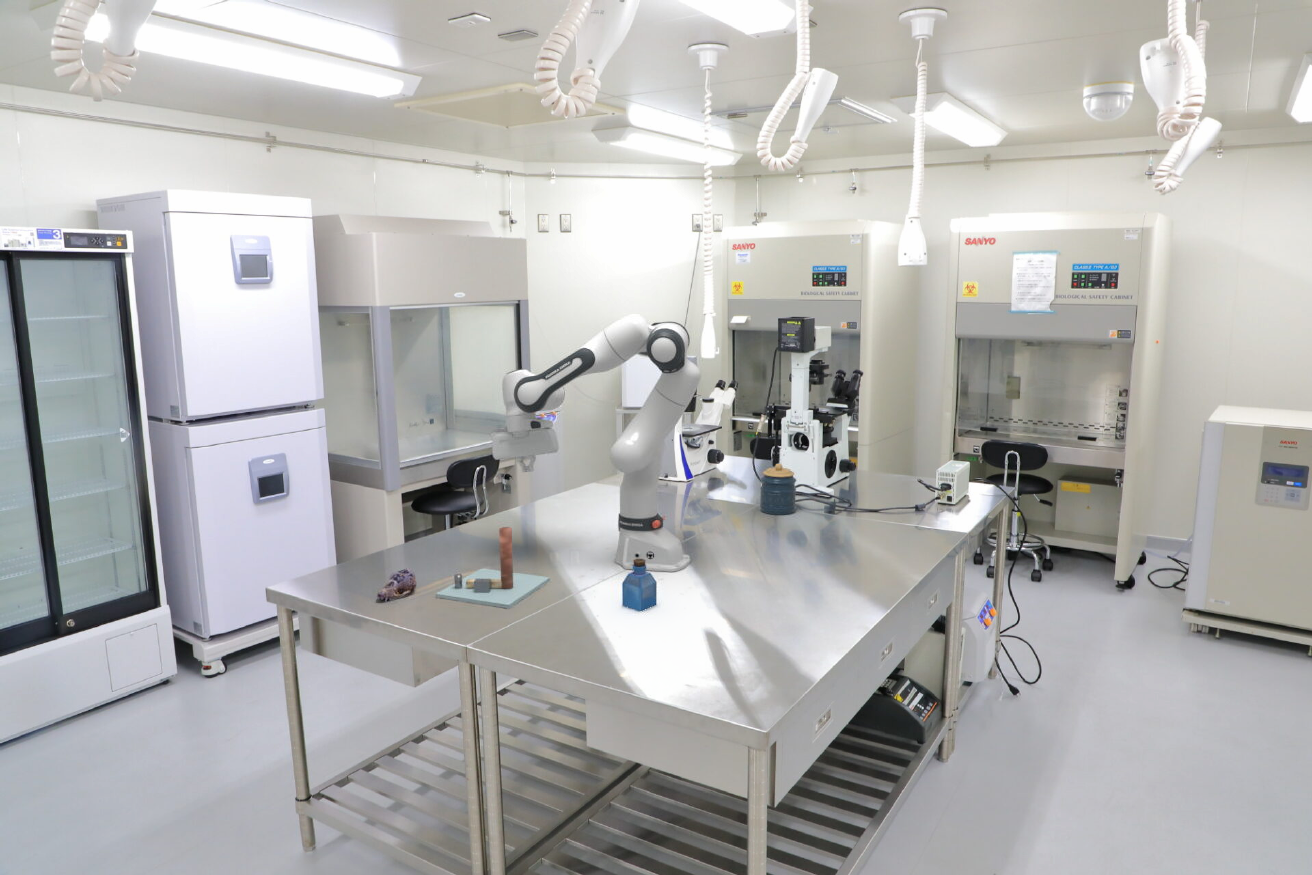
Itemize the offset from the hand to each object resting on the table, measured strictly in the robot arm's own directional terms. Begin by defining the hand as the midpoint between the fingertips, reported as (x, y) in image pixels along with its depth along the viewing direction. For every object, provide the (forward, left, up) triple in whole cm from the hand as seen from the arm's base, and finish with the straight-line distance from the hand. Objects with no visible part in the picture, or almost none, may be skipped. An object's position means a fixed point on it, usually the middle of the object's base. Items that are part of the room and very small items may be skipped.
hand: (528, 471), depth 251 cm
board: (-4, +27, -27) cm, 38 cm away
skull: (+18, +40, -27) cm, 52 cm away
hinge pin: (+4, +32, -27) cm, 42 cm away
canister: (-57, -81, -27) cm, 103 cm away
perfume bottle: (-45, +24, -27) cm, 57 cm away
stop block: (-3, +31, -27) cm, 41 cm away
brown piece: (-4, +28, -25) cm, 38 cm away
